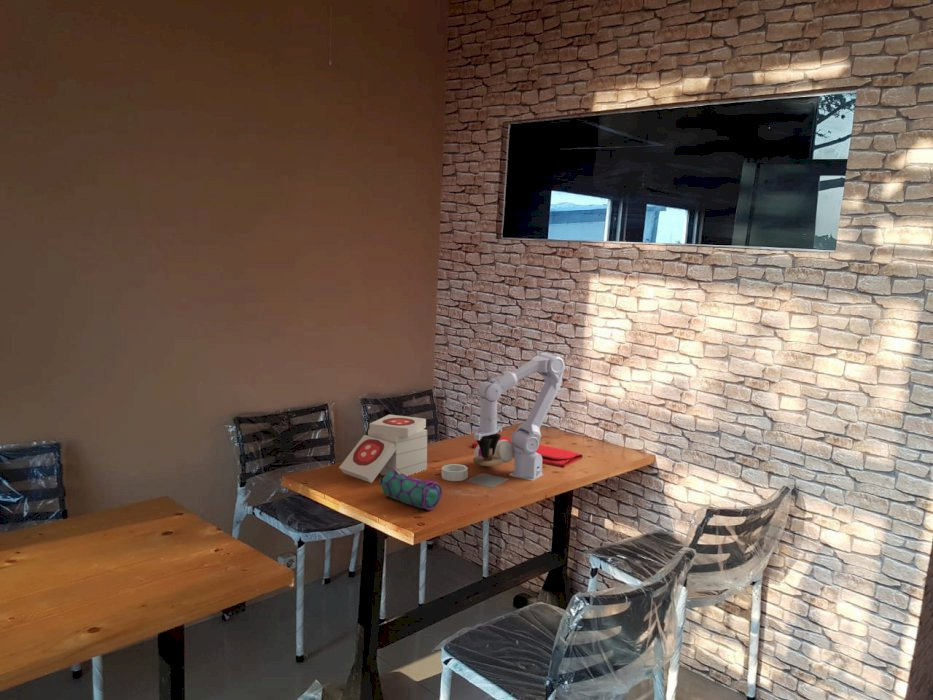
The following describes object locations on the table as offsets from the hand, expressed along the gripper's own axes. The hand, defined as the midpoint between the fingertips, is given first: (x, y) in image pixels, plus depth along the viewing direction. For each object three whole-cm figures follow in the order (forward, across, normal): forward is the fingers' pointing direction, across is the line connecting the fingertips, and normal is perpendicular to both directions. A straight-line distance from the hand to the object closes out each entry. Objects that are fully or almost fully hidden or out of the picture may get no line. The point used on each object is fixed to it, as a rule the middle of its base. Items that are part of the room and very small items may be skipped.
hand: (487, 456), depth 249 cm
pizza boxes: (+9, +15, -33) cm, 37 cm away
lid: (+2, 0, 0) cm, 2 cm away
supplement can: (+5, -14, -12) cm, 19 cm away
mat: (+9, 0, 0) cm, 9 cm away
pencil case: (+9, +32, -8) cm, 34 cm away
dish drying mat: (+10, -37, -6) cm, 39 cm away
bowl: (+9, +4, -11) cm, 15 cm away
